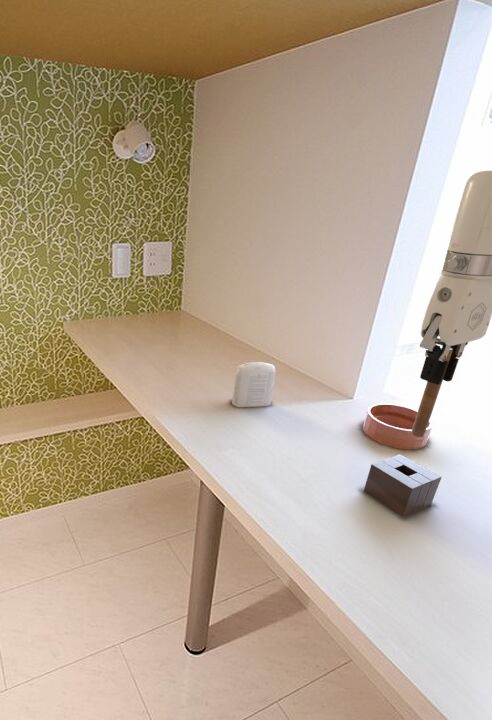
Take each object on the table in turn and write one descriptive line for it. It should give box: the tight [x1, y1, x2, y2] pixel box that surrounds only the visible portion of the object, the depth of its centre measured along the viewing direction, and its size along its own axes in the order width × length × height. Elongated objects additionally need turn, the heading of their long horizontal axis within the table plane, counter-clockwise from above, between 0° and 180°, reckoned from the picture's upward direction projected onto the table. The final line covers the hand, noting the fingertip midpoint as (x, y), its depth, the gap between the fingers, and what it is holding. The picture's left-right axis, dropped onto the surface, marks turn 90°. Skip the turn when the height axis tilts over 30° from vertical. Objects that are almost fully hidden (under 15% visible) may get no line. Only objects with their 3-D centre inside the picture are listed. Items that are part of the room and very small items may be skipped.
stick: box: [411, 345, 453, 437], centre depth 73 cm, size 2×2×16 cm
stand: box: [363, 453, 442, 518], centre depth 79 cm, size 8×8×7 cm
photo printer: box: [231, 361, 276, 408], centre depth 113 cm, size 10×4×12 cm, turn 98°
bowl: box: [362, 403, 434, 450], centre depth 101 cm, size 13×13×6 cm
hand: (435, 379), depth 72 cm, fingers closed on stick, 2 cm apart
